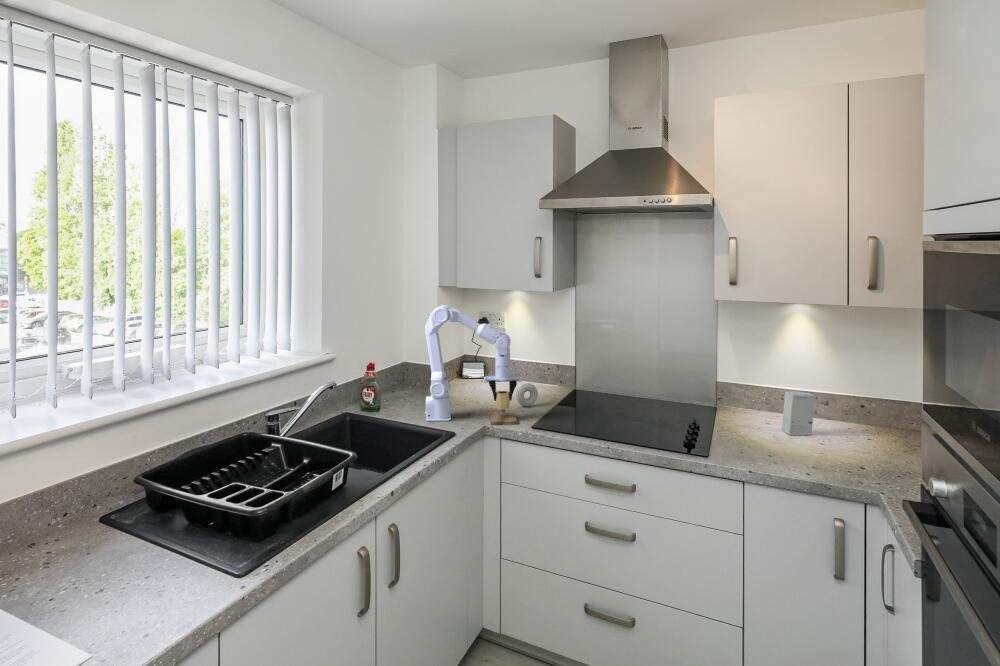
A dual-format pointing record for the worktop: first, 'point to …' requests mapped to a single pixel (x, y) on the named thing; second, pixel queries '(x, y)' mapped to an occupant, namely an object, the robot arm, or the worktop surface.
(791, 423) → the skincare box
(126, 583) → the worktop surface
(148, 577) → the worktop surface
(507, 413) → the shaft stand
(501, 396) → the hub
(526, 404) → the donut
